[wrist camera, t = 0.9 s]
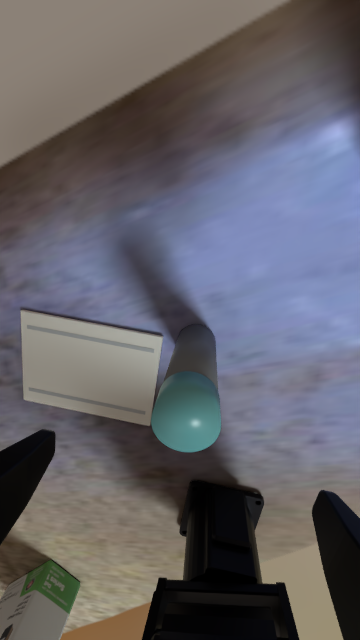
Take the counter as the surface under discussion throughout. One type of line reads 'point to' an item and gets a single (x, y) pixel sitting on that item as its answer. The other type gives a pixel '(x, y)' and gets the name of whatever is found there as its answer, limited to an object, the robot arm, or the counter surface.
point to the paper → (89, 366)
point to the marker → (189, 394)
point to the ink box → (38, 604)
